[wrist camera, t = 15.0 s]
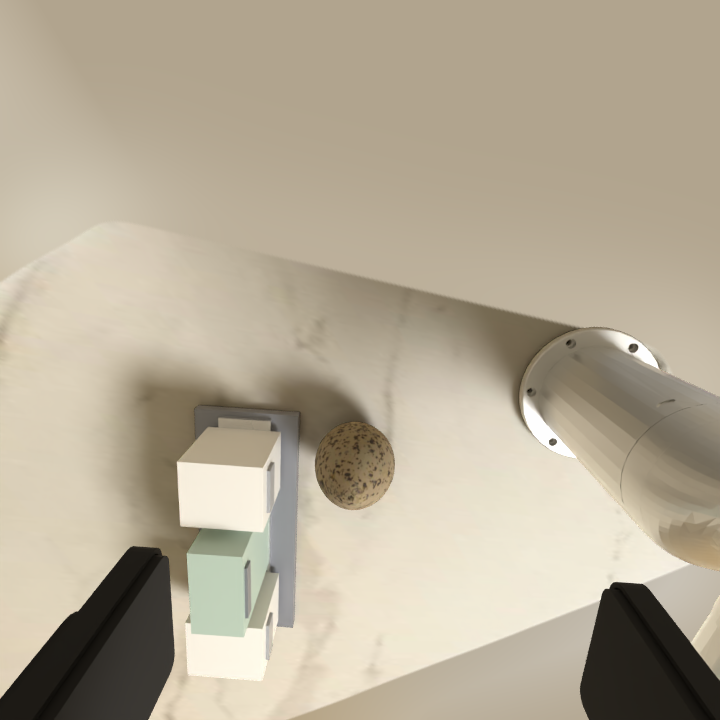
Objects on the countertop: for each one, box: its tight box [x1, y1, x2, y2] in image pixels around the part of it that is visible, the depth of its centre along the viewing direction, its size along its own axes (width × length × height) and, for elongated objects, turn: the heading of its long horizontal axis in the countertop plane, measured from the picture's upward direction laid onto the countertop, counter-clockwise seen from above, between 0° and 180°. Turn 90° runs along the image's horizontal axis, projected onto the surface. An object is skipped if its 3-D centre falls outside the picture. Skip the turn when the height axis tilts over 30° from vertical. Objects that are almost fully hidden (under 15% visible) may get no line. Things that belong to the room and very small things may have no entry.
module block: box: [187, 521, 268, 637], centre depth 42 cm, size 5×8×9 cm, turn 177°
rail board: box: [177, 405, 300, 681], centre depth 44 cm, size 10×25×9 cm, turn 177°
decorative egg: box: [315, 422, 395, 510], centre depth 40 cm, size 7×7×10 cm
